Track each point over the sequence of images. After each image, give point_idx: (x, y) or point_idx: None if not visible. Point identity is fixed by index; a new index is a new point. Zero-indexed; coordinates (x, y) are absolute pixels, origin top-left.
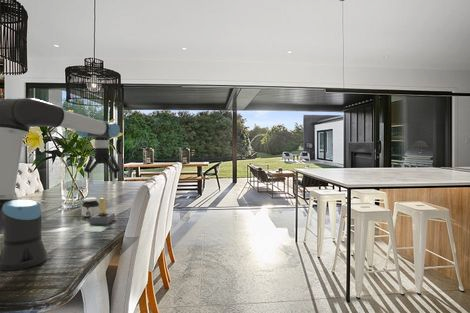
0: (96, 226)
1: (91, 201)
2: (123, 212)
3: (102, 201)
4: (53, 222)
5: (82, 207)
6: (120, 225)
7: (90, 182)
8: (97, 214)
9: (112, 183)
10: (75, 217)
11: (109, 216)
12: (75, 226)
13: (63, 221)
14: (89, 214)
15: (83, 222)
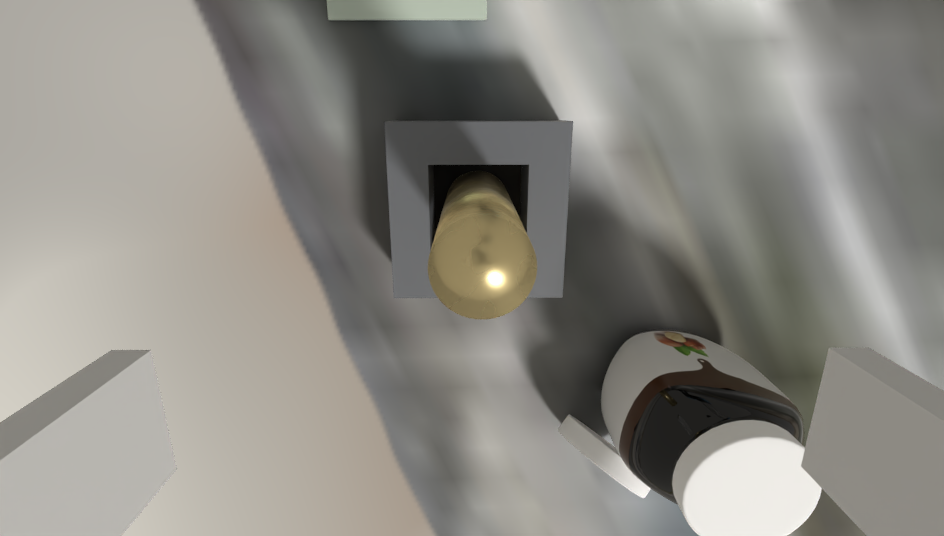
0: (449, 18)
1: (708, 430)
2: (441, 503)
3: (459, 211)
4: (918, 169)
5: (775, 389)
6: (253, 85)
7: (863, 372)
8: (543, 240)
9: (137, 360)
10: (784, 339)
11: (388, 177)
12: (659, 35)
13: (840, 206)
14: (664, 336)
15: (644, 178)
